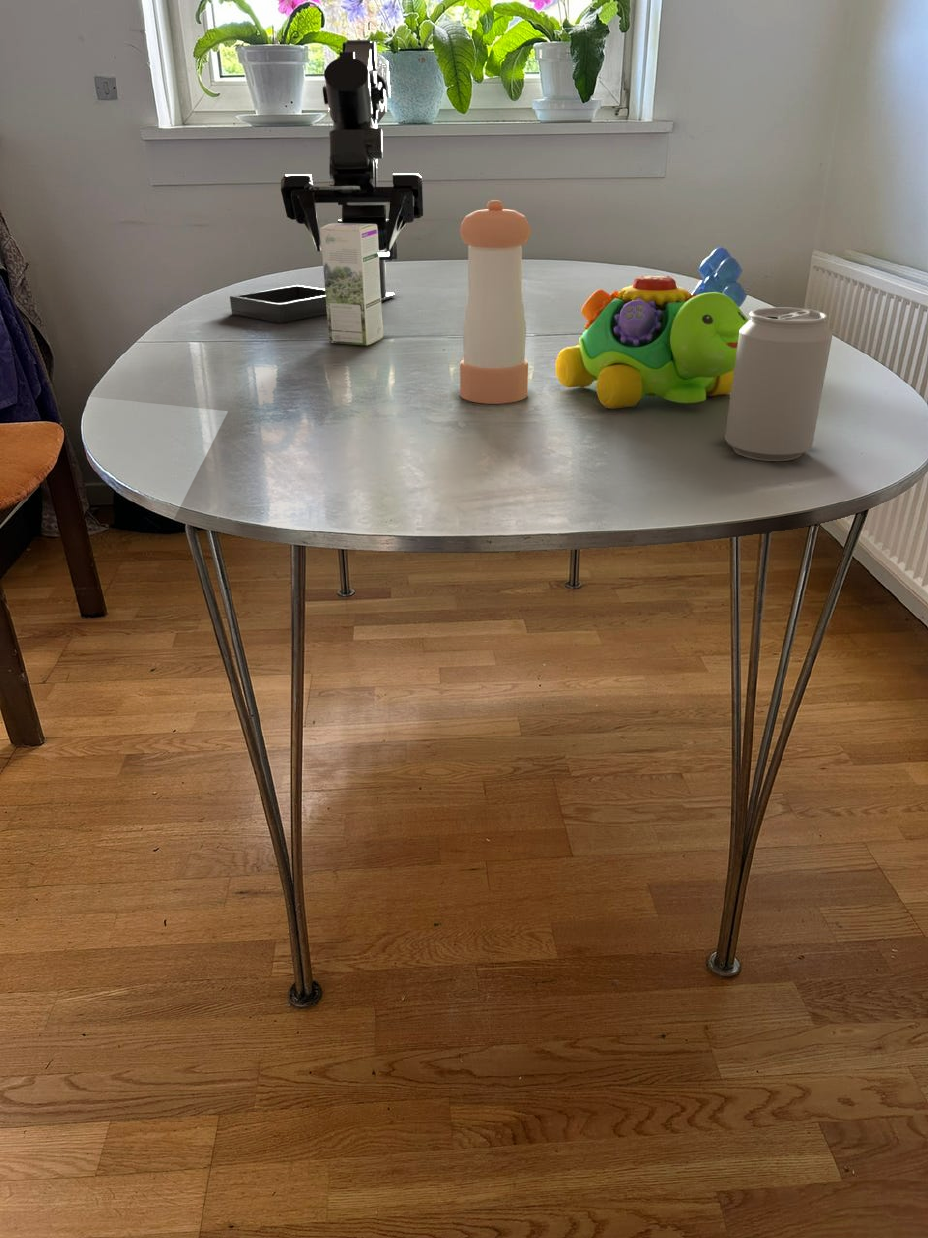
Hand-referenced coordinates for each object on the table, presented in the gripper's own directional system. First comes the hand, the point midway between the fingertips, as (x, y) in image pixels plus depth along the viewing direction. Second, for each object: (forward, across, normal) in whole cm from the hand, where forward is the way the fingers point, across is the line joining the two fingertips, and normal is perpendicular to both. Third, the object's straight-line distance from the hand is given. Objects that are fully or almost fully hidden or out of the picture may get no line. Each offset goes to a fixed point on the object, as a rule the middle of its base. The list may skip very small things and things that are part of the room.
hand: (353, 248), depth 121 cm
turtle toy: (+32, +34, -16) cm, 49 cm away
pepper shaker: (+31, +17, -15) cm, 38 cm away
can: (+45, +40, -29) cm, 67 cm away
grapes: (+16, +46, 0) cm, 48 cm away
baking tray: (-5, -12, +20) cm, 24 cm away
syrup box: (+11, 0, +5) cm, 12 cm away
